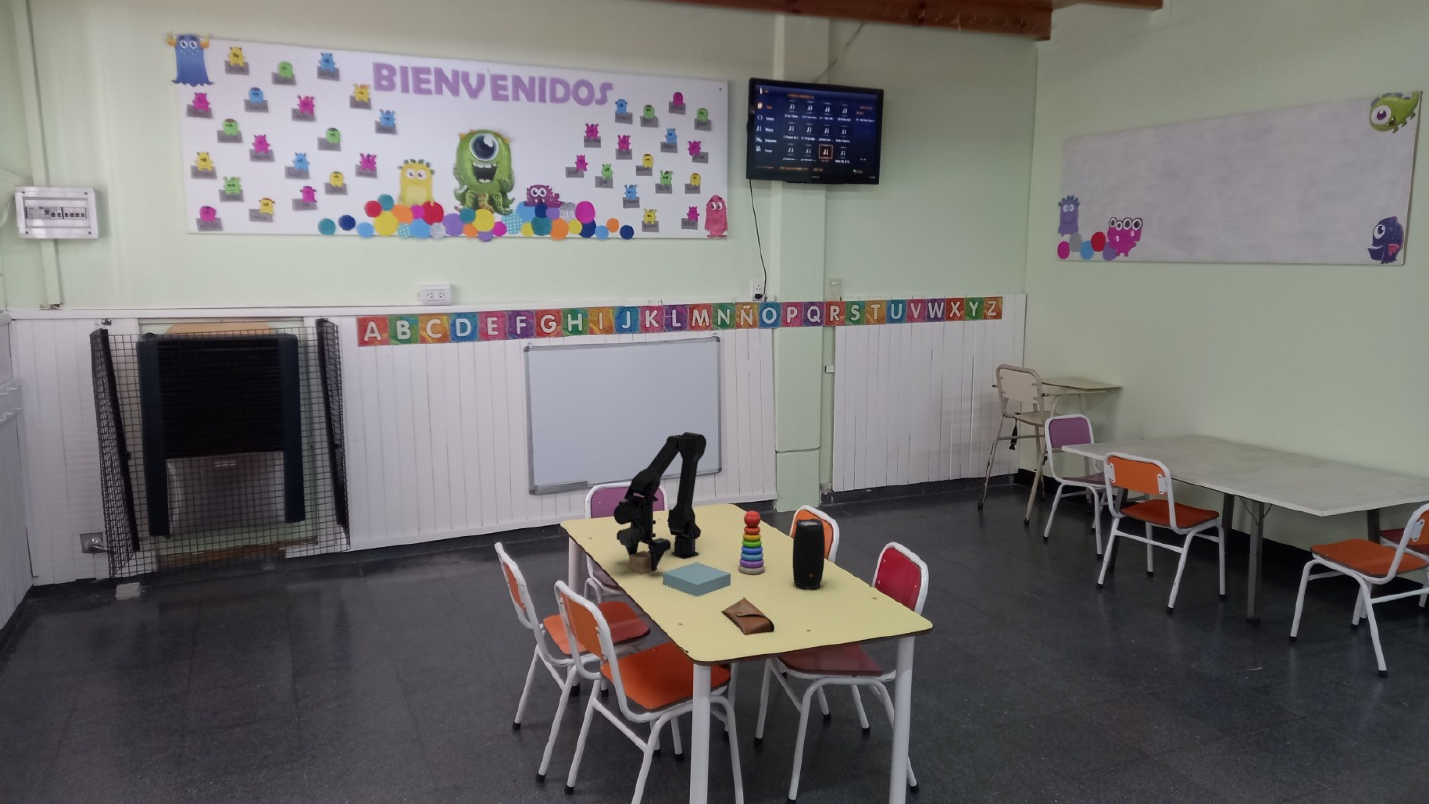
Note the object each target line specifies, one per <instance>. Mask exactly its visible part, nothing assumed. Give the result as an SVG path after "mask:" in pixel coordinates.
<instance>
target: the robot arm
mask: <svg viewBox="0 0 1429 804" xmlns="http://www.w3.org/2000/svg"><path fill="white" fill-rule="evenodd" d="M706 447H707V438H706V437H705V435H704V434H700V433H695V432H689V431H685V432H683V433H682V434H675V435H669V436H667V438H666V441H665V443H664V444H663V446H662V447H661V449H660V450H659V452H657V454H656V455H655V457H654V458H653V459H652V461H651V463H650V464H648V466H647V467H646V468H645V469H642V470H640V471H639V472H637V474H636V475H635V476H634V477H633V478H632V480H631V482H630V484H629V486H628V489H627V491H626V493H625V495H624V497H623V499H624V500H619V501H618V505H617V506H616V507H615V508H614V509H613V510H614V511H613V518H614V520H615V523H617V524H619V525H621V526H623V525H627V524H630V526H629V527H627V528H622V529H619V530H618V531H617V533H616V540H617V541H619V543H620V545H621V546H624V547H625V549H626V551H627V555H628V556H629V555H630V554H634V553H638V549H639V543H642V544H645V545H647V548H648V550H647V552H648V553H649V554H650V555H651V569H652V571H654V572H656V571H655V570H656V568H657V569H658V566H659V563H660V562H661V559H662V558H663V556H664V554H665V552H667V551H670V550H671V548H672V543H671V541H670V540H669V539H666V538H663V537H658V538H656V535H657V534H656V533H655V532H654V525H656V524H657V520H655V519H654V503H655V502H658V501H659V498H658V497H656V496H655V495H656V493H657V491H658V489H659V488H660V486H661V478H662V476H663V475H664V473H665V472H666V470H667V469H668V468H669V467H670V465H671V464H672V462H673V461H674V460H675V458H676V457H677V455H678V454H680V457H681V459H682V461H681V468H680V475H679V482H678V483H679V484H678V490H677V497H676V503H675V506H674V507H673V509H671V508H670V509H669V510H668V516H667V520H666V522H667V528H668V529H669V532H670V535H671V536H672V535H673V536H674V541H673V542H674V543H673V545H674V546H673V551H671V552H670V553H671V555H674V556H677V557H679V558H682V559H688V558H691V557H695V556H698V555H699V552H698V551H696V540H697V539H699V538H701V534H702V530H701V528H700V527H699V526H698V524H697V523H696V514H695V511H694V509H693V501H694V493H695V487H696V486H695V485H696V480H697V470H698V465H699V464H698V463H699V462H700V460H701V459H702V457H703V456H704V455H705V451H706ZM653 538H654V539H653Z"/></svg>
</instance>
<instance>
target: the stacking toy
mask: <svg viewBox="0 0 1429 804" xmlns="http://www.w3.org/2000/svg"><path fill="white" fill-rule="evenodd" d="M743 521H744V522H743V523H744V524H745V527H743V532H744V533H743V535H742V541H741V544H742V546H741V548H740V549H741V552H740V558H739V564H738V565H739V566H738V570H739V571H740V572H741V573H744V574H747V575H757V574H761V573H763V572H764V571H765V570H766V569H765V568H766V567H765V565H764V563H765V560H764V553H763V551H764V549H763V546H762V543H763V542H762V540H761V538H762V535H761V528H760V526H759V524H760V523H761V516H760V514H759V513H758V512H757V511H754V510H749V511H747V512H746V513H745V515H744V516H743Z"/></svg>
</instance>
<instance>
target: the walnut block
mask: <svg viewBox="0 0 1429 804" xmlns="http://www.w3.org/2000/svg"><path fill="white" fill-rule="evenodd" d="M628 564H629V565H628V569H629V571H630V570H632V571H631V572H633V571H634V572H633V573H635V572H636V574H638V573H639V574H638V575H641V576H643V574H644V575H647V574H646V573H648V574H651V573H654V572H656V570H657V571H658V567H657V568H656V570H655V571H654V572H653V571H652V569H651V555H650V554H649V553H648V551H646V550H642V551H637V553H634V554H630V555H628ZM650 572H651V573H650Z"/></svg>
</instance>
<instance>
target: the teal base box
mask: <svg viewBox="0 0 1429 804" xmlns="http://www.w3.org/2000/svg"><path fill="white" fill-rule="evenodd" d="M731 575H732V574H731V573H730V572H727V571H725V570H722V569H718V568H715V567H712V566H709V565H706V564H704V563H701V562H697V561H696V562H693V563H689V564H687V565H682V566H679V567H677V568H674V569H671V570H667V571H664V572H663V573H662V585H664V586H666V585H668V586H667V587H669V586H671V587H670V588H671V589H674V588H675V590H677V589H678V591H680V592H683V593H685V594H688V595H690V594H692V595H691V596H693V595H695V596H694V597H696V596H698V597H700V596H699V595H701V596H704V595H706V594H709V593H712V592H715V591H717V590H721V589H724V588H726V587H729V586H731V580H732V579H731V577H732V576H731ZM703 594H704V595H703Z"/></svg>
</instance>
